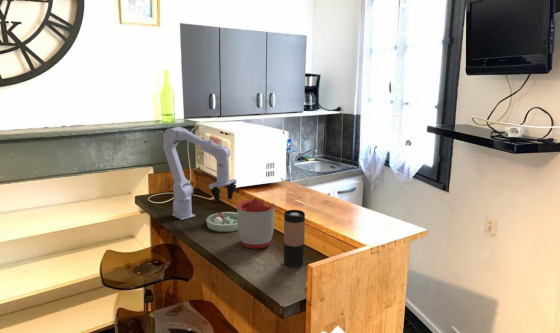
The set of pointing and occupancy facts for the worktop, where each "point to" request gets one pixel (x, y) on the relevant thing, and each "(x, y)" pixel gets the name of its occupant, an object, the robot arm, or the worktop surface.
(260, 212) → the citrus juicer
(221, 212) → the terracotta bead
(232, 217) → the tray
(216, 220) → the ivory bead
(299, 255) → the travel mug
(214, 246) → the worktop surface
